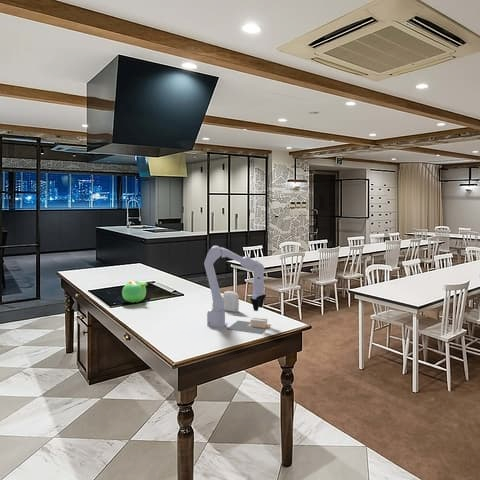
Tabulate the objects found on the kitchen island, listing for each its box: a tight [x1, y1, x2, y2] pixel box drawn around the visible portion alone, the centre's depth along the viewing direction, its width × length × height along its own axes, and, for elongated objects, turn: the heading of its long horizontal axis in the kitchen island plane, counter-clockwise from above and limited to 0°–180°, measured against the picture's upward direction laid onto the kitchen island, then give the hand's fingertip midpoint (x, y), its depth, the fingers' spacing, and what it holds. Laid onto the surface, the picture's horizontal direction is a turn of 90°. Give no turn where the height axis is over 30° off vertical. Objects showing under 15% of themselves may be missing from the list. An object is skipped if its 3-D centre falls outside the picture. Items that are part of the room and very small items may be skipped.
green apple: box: [121, 280, 148, 304], centre depth 270 cm, size 18×17×15 cm
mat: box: [226, 320, 272, 335], centre depth 218 cm, size 20×17×1 cm
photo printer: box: [222, 290, 240, 313], centre depth 250 cm, size 10×4×12 cm, turn 61°
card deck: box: [250, 316, 268, 327], centre depth 220 cm, size 5×8×4 cm, turn 69°
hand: (258, 309), depth 221 cm, fingers open, 7 cm apart
